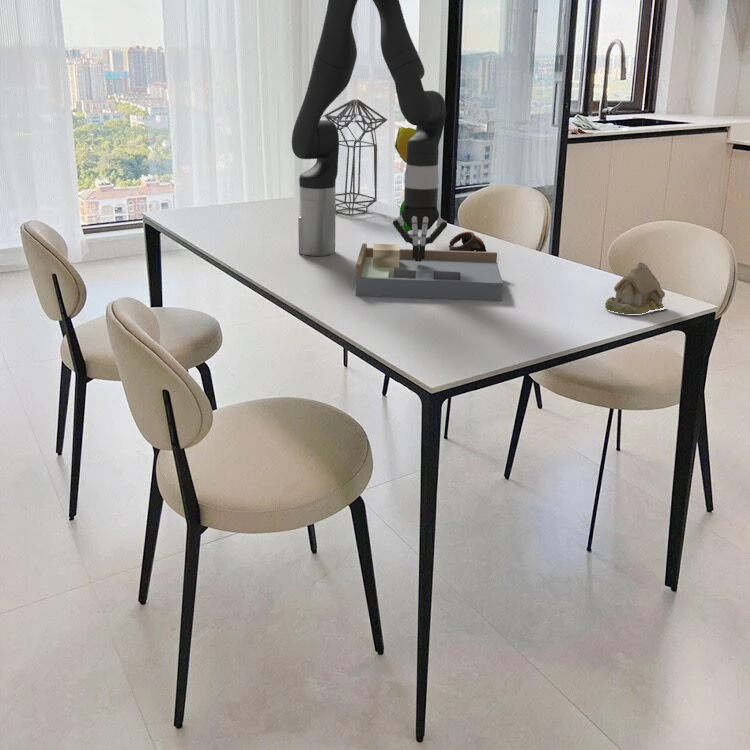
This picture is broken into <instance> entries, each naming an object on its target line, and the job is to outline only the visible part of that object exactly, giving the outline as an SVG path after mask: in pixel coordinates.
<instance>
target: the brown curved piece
mask: <svg viewBox="0 0 750 750" xmlns="http://www.w3.org/2000/svg"><path fill="white" fill-rule="evenodd" d="M460 241H461V245H458V246H455V244H456V243H458V242H460ZM448 243H449V245H448V248H449V250H448V251H475V252H487V248H486V245H485V243H484V241H483V240H482V238H480V237H479V236H477V235H475V233H474V232H473V231H464V232H460V233H458V234H457V235H455V236H454V237H452V238H451V239H450V241H449V242H448Z"/></svg>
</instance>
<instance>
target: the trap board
mask: <svg viewBox="0 0 750 750" xmlns="http://www.w3.org/2000/svg"><path fill="white" fill-rule="evenodd" d="M367 244H368V243H362V245H361V247H360V251H359V254H358V257H357V260H356V262H355V296H358V297H359V296H361V297H388V298H410V299H411V298H414V299H439V300H465V301H466V300H467V301H469V300H470V301H489V302H501V301H503V290H504V289H503V288H504V282H503V277H502V275H501V272H500V268H499V265H498V261H497V260H498V259H497V258H498V252H496V251H486V252H476V251H449V250H443V249H441V250H440V249H439V250H438V249H425V258H424V259H422V261H421V262H419V258H418V262H417V261H415V259H413V257H412V255H413V248H400V257H399V268H387V267H373V248H374V247H368V246H367Z"/></svg>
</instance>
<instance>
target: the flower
mask: <svg viewBox="0 0 750 750" xmlns="http://www.w3.org/2000/svg"><path fill="white" fill-rule="evenodd" d="M415 132H416V128H413V127H403V126H400V127H398V131H397V134H396V140H395V144H394V148H395V150H396V151H397V154H398V155H399V158H400V159H402V161H403V162H404V163H406V164H407V143H408V140H409V139H410V138H411V137H413V136H414V134H415ZM403 209H404V200H403V201H402V202H401V205H400V208H399V217H400V216H401V215H402V211H403ZM403 222H404V225H403V227H404V229H405V230H406V231H407V233H408V234H409V232H410V231H411V232H412V229H410V228H409V226H408V225H407V223H406V222H405V221H404V219H403Z"/></svg>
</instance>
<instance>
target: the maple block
mask: <svg viewBox="0 0 750 750" xmlns="http://www.w3.org/2000/svg"><path fill="white" fill-rule="evenodd" d="M372 248H373V267H387V268H399V257H400V249H401V247H400V244H396V243H395V244H393V243H392V244H391V243H389V244H387V243H373V247H372Z"/></svg>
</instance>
